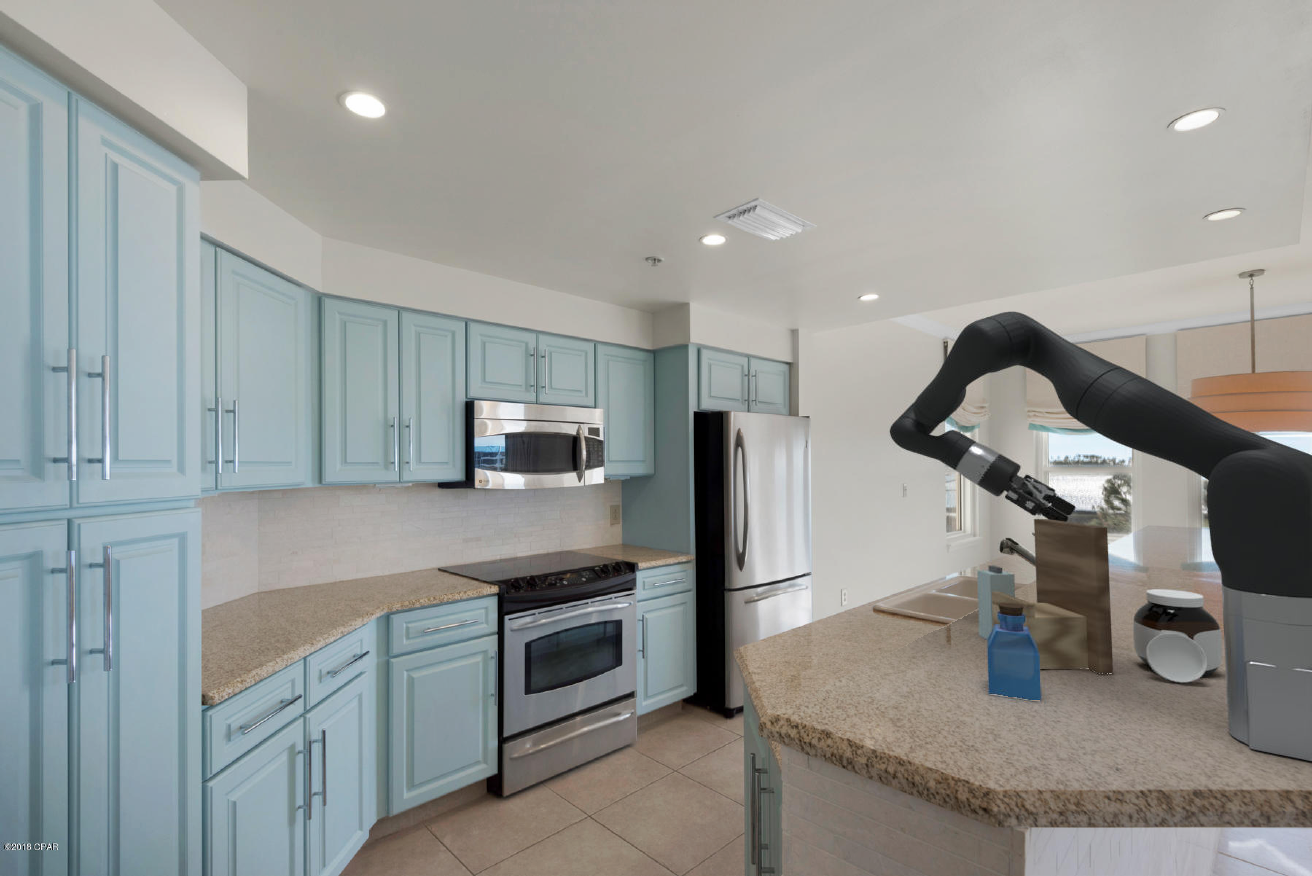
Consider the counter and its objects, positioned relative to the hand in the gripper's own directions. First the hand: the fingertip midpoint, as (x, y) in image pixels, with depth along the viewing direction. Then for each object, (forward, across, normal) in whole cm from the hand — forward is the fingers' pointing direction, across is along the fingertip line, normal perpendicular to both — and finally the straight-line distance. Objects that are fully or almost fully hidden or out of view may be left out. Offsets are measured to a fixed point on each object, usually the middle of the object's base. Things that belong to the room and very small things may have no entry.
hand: (1069, 516), depth 118 cm
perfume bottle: (+7, -43, +14) cm, 45 cm away
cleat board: (+9, -24, +15) cm, 30 cm away
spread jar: (+24, -19, +7) cm, 31 cm away
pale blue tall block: (+3, -16, +22) cm, 27 cm away
